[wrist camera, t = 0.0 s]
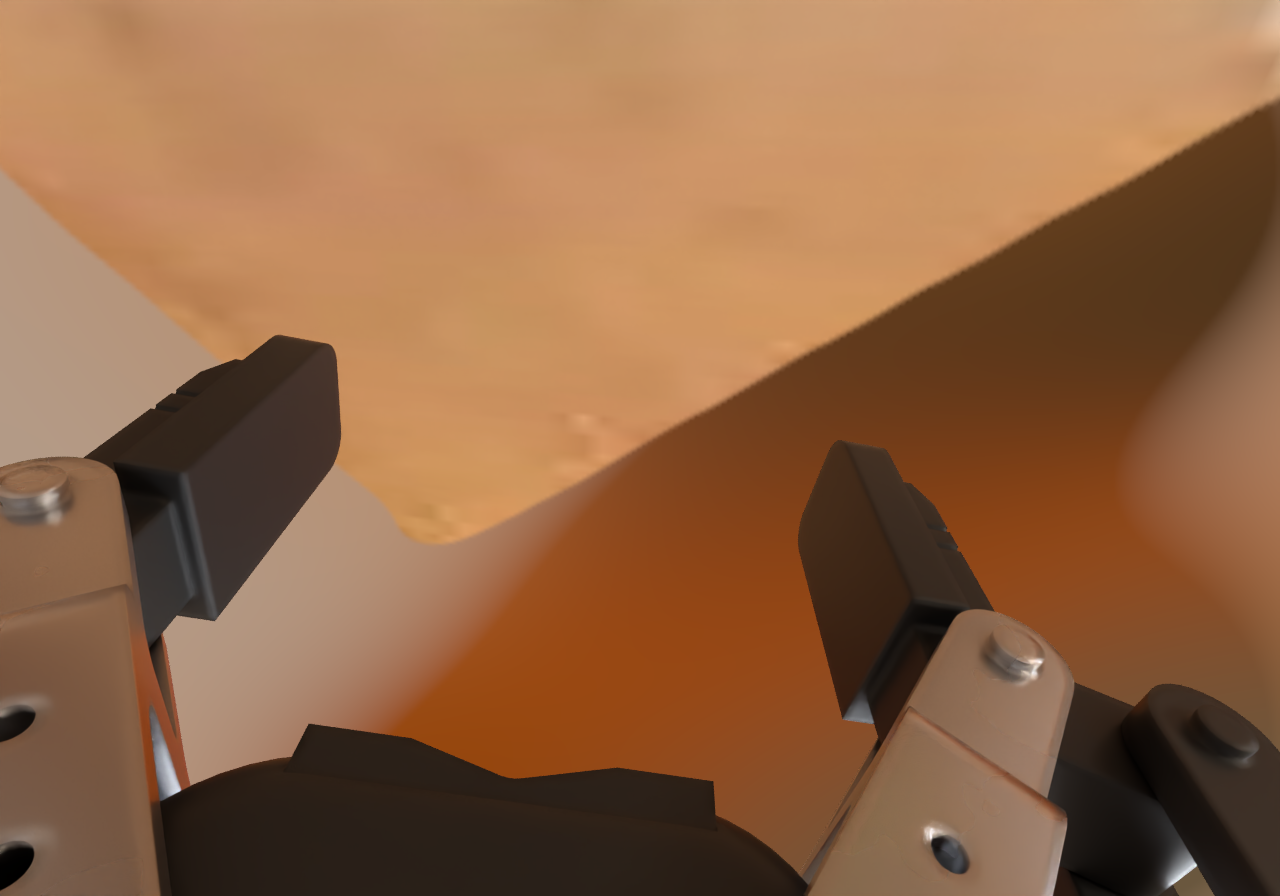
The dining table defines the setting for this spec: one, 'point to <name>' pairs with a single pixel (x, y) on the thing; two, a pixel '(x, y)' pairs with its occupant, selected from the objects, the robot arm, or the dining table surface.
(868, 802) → the robot arm
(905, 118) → the dining table surface
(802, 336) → the dining table surface
